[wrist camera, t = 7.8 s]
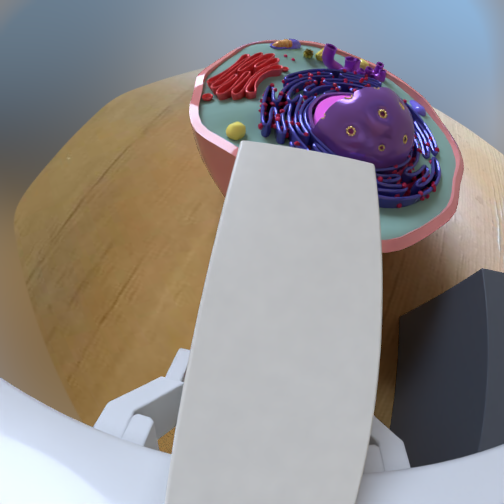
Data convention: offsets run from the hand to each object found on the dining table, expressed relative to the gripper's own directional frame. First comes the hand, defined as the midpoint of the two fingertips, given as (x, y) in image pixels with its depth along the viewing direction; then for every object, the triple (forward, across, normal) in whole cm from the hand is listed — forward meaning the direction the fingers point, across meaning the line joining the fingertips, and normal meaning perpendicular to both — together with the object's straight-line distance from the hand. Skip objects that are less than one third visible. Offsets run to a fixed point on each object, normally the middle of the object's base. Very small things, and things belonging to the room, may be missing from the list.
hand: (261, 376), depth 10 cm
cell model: (+16, -2, -5) cm, 17 cm away
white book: (+5, 0, +6) cm, 8 cm away
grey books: (+5, -14, +6) cm, 16 cm away
